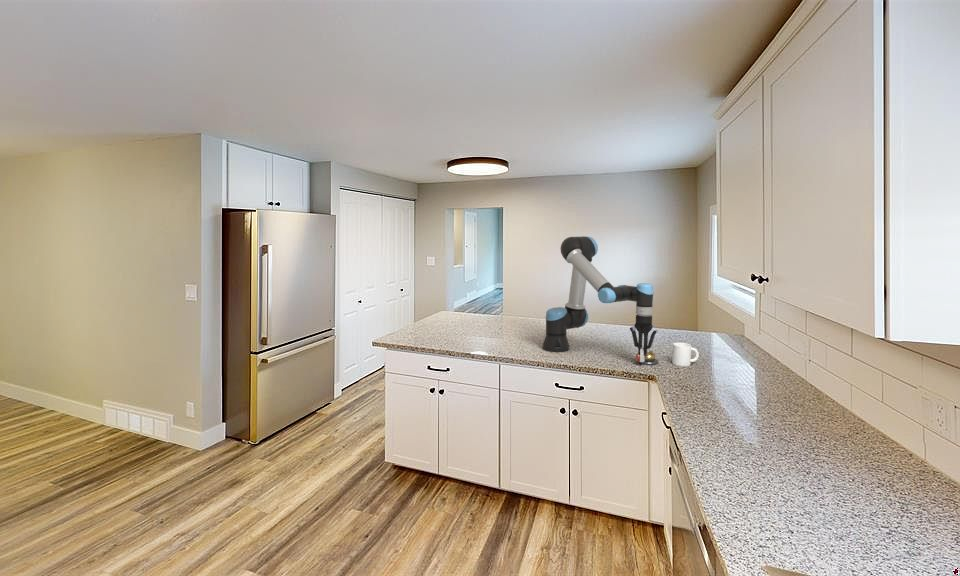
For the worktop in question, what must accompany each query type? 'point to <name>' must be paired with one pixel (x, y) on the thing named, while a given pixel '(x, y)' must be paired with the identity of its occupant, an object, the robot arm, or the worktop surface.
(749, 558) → the worktop surface
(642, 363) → the base plate
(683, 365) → the mug
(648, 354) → the gold rounded piece
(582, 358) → the worktop surface
